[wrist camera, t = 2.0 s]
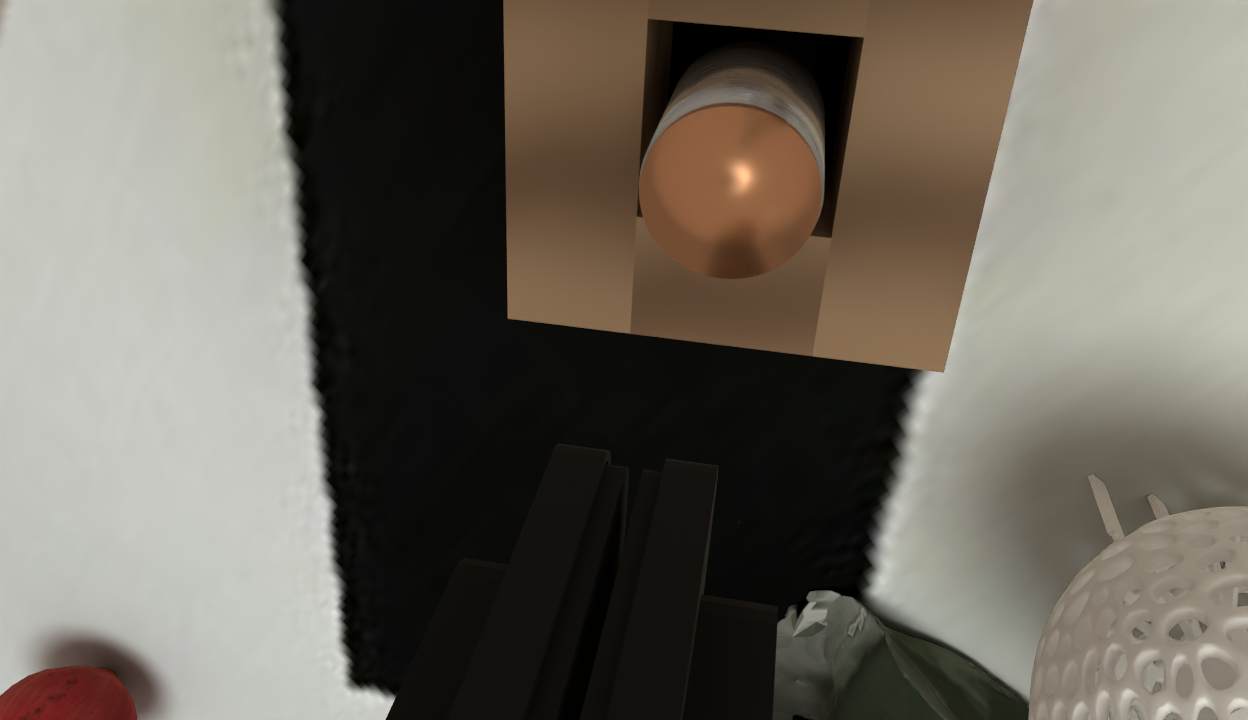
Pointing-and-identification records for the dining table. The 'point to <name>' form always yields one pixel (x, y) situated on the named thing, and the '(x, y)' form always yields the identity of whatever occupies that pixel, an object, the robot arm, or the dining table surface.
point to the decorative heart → (1142, 577)
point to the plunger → (736, 163)
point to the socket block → (853, 184)
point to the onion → (68, 696)
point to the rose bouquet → (874, 670)
